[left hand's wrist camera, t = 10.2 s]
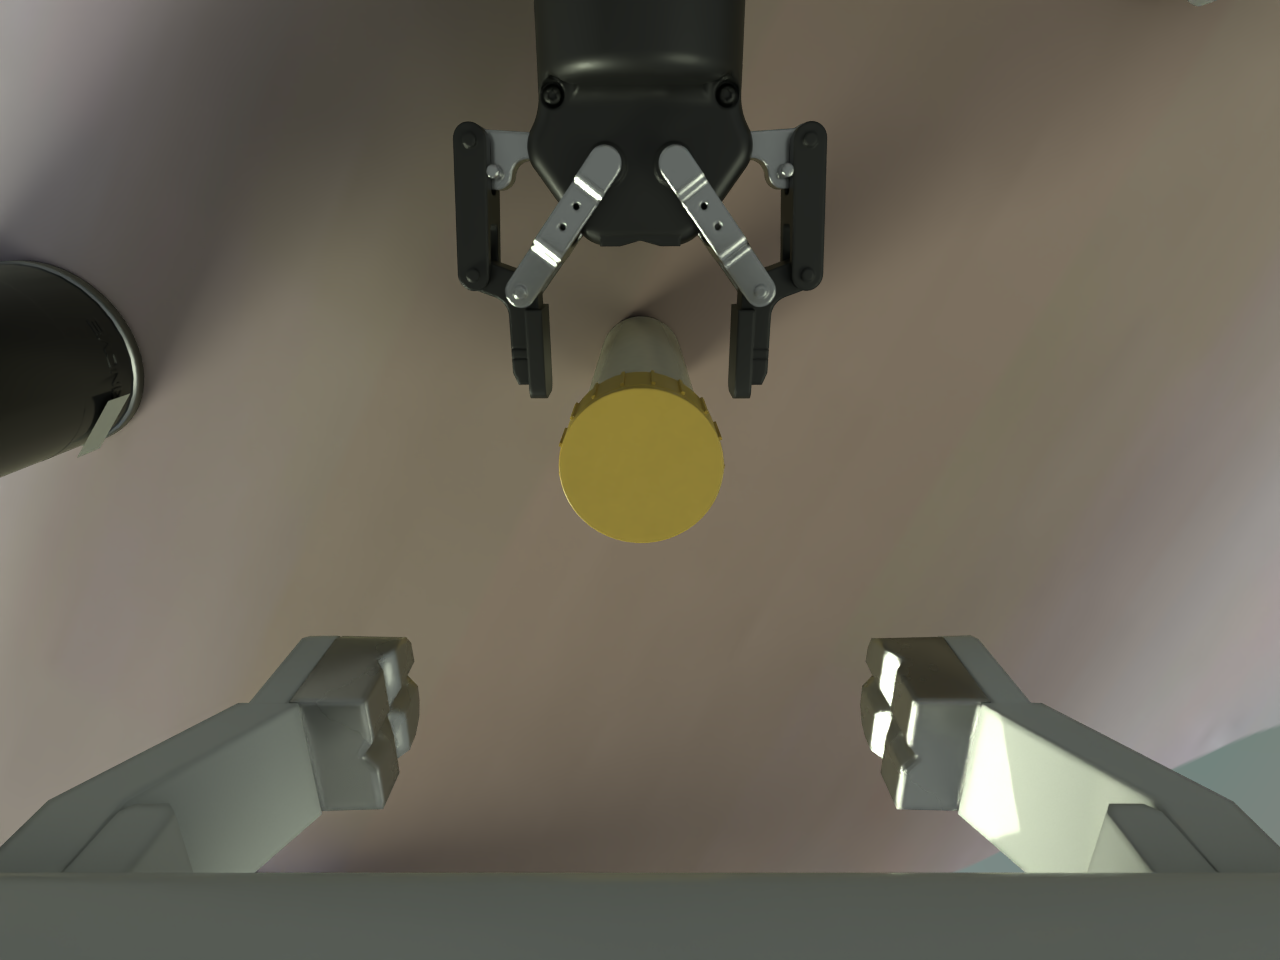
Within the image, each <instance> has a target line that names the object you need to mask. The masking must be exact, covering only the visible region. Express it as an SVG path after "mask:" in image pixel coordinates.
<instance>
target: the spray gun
mask: <svg viewBox="0 0 1280 960" xmlns="http://www.w3.org/2000/svg"><path fill="white" fill-rule="evenodd" d="M1213 1H1216V0H1188V2H1189V3H1191V4H1192V5H1194V6H1202V5H1205V4H1207V3H1210V2H1213Z"/></svg>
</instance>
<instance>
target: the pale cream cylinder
mask: <svg viewBox="0 0 1280 960" xmlns="http://www.w3.org/2000/svg"><path fill="white" fill-rule="evenodd" d="M651 370H654V371H655V373H658V374H662V375H666V376H668V377H671V378H673V379H676V380H677V381H678V380H679V379H680V380H682V382H683V384H684V385H686V386H687V387H688V388H690V389H691V390H692V391H693V388H692V384H691V381H690V378H689V375H688V372H687V368H686V365H685V362H684V359H683V356H682V352H681V349H680V346H679V343H678V340H677V338H676V336H675V335H674V333H673V332H672V331H671V329H670V328H669V327H668V326H666V325H665V324H664V323H662V322H660V321H659V320H656V319H654V318H650V317H644V316H638V317H632V318H629V319H626V320H624V321H622V322H620V323H619V324H617V325H616V326H615V327H614V328H613V329H612V330H611V331H610V332H609V334H608V335H607V337H606V339H605V341H604V344H603V347H602V350H601V354H600V357H599V360H598V363H597V367H596V370H595V373H594V376H593V380H592V383H591V386H590V389H589V391H591V390H592V389H593V388H594V385H595V384H596V383H597V382H598V384H600V383H602V382H603V381H605V380H607V379H609V378H612V377H614V376H617V375H621V372H623V371H625V373H630V372H651ZM693 392H694V391H693Z"/></svg>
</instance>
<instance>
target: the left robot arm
mask: <svg viewBox="0 0 1280 960" xmlns="http://www.w3.org/2000/svg"><path fill="white" fill-rule="evenodd" d="M413 663H414V657H413V651H412V645H411V642H410V641H409V640H408V639H407V638H406V637H367V636H342V637H340V636H309V637H305V638H302V639H301V640H300V642H299V643H298V644H297V645H296V646H295V648H294V649H293V650H292V651H291V653H290V654H289V655H288V656H287V657H286V659H285V660H284V661H283V662H282V663H281V665H280V666H279V667H278V668H277V670H276V671H275V672H274V673H273V674H272V676H271V677H270V678H269V679H268V680H267V682H266V683H265V684H264V685H263V687H262V688H261V689H260V690H259V691H258V693H257V694H256V695H255V696H254V698H253V699H252V700H251V701H250V702H249V703H238V704H236V705H234V706H232V707H230V708H228V709H226V710H224V711H222V712H220V713H218V714H216V715H214V716H212V717H210V718H208V719H206V720H204V721H202V722H200V723H199V724H197V725H195V726H193V727H191V728H189V729H187V730H185V731H183V732H181V733H179V734H177V735H175V736H173V737H171V738H169V739H167V740H165V741H163V742H161V743H160V744H158V745H156V746H154V747H152V748H150V749H148V750H146V751H144V752H142V753H140V754H138V755H136V756H134V757H132V758H130V759H128V760H126V761H124V762H122V763H120V764H119V765H117V766H115V767H113V768H111V769H109V770H107V771H105V772H103V773H101V774H99V775H97V776H95V777H93V778H91V779H89V780H87V781H85V782H83V783H81V784H80V785H78V786H76V787H74V788H72V789H70V790H68V791H66V792H64V793H62V794H60V795H58V796H56V797H54V798H52V799H50V800H48V801H47V802H46V803H45V804H44V805H43V806H42V807H41V808H40V809H39V810H38V811H37V812H36V813H35V814H34V815H33V816H32V817H31V818H30V819H29V820H28V821H27V822H26V823H25V824H24V825H23V826H22V827H20V828H19V829H18V830H17V831H16V832H15V833H14V834H13V835H12V836H11V837H10V838H9V839H8V840H7V841H6V842H5V843H4V844H3V845H2V846H1V847H0V960H1280V847H1279V846H1278V845H1277V844H1276V843H1275V842H1274V841H1273V840H1272V839H1271V838H1270V837H1269V836H1268V835H1267V834H1266V833H1265V832H1264V831H1263V830H1262V829H1261V828H1260V827H1259V826H1258V825H1257V824H1256V823H1255V822H1254V821H1253V820H1252V819H1251V818H1250V817H1249V816H1248V815H1246V814H1245V813H1244V812H1243V811H1242V810H1241V809H1240V808H1239V807H1238V806H1237V805H1236V804H1235V803H1234V802H1233V801H1231V800H1229V799H1227V798H1225V797H1223V796H1221V795H1219V794H1217V793H1216V792H1214V791H1212V790H1210V789H1208V788H1206V787H1204V786H1202V785H1200V784H1198V783H1196V782H1194V781H1192V780H1190V779H1188V778H1186V777H1184V776H1182V775H1181V774H1179V773H1177V772H1175V771H1173V770H1171V769H1169V768H1167V767H1165V766H1163V765H1161V764H1159V763H1157V762H1155V761H1153V760H1151V759H1149V758H1148V757H1146V756H1144V755H1142V754H1140V753H1138V752H1136V751H1134V750H1132V749H1130V748H1128V747H1126V746H1124V745H1122V744H1120V743H1118V742H1116V741H1114V740H1112V739H1111V738H1109V737H1107V736H1105V735H1103V734H1101V733H1099V732H1097V731H1095V730H1093V729H1091V728H1089V727H1087V726H1085V725H1083V724H1081V723H1079V722H1077V721H1076V720H1074V719H1072V718H1070V717H1068V716H1066V715H1064V714H1062V713H1060V712H1058V711H1056V710H1054V709H1052V708H1050V707H1048V706H1046V705H1044V704H1042V703H1031V702H1030V701H1029V700H1028V699H1027V698H1026V696H1025V695H1024V694H1023V693H1022V691H1021V690H1020V689H1019V688H1018V687H1017V685H1016V684H1015V683H1014V682H1013V681H1012V679H1011V678H1010V677H1009V676H1008V675H1007V673H1006V672H1005V671H1004V670H1003V668H1002V667H1001V666H1000V665H999V664H998V662H997V661H996V660H995V659H994V658H993V656H992V655H991V654H990V653H989V652H988V650H987V649H986V648H985V647H984V645H983V644H982V643H981V642H980V641H979V639H977V638H975V637H973V636H971V635H967V636H938V637H912V638H872V639H871V641H870V643H869V646H868V650H867V656H866V663H867V665H868V667H869V669H870V671H871V673H872V676H871V677H870V679H869V680H868V681H867V682H866V683H865V684H864V685H863V686H862V693H861V703H860V708H861V721H862V726H863V730H864V734H865V738H866V740H867V742H868V745H869V747H870V750H872V751H873V752H874V753H876V754H877V755H879V756H880V757H881V758H883V760H882V766H881V775H882V777H883V779H884V781H885V784H886V786H887V788H888V790H889V793H890V795H891V797H892V799H893V802H894V804H895V806H896V808H897V809H912V810H948V811H958V814H959V815H960V816H961V817H962V818H964V819H965V820H966V821H967V822H968V823H969V824H970V825H972V826H973V827H974V828H975V829H976V830H977V831H978V832H980V833H981V834H982V835H983V836H984V837H985V838H986V839H988V840H989V841H990V842H991V843H992V844H993V845H994V846H996V847H997V848H998V849H999V850H1000V851H1001V852H1003V853H1004V854H1005V855H1006V856H1007V857H1008V858H1009V859H1010V860H1012V861H1013V862H1014V863H1015V864H1016V865H1017V866H1019V867H1020V868H1021V869H1022V870H1023V871H1024V872H1025V873H255V872H256V871H257V870H258V869H259V868H261V867H262V866H263V865H264V864H265V863H266V862H267V861H269V860H270V859H271V858H272V857H273V856H274V855H276V854H277V853H278V852H279V851H280V850H281V849H282V848H284V847H285V846H286V845H287V844H288V843H289V842H290V841H292V840H293V839H294V838H295V837H296V836H297V835H298V834H300V833H301V832H302V831H303V830H304V829H305V828H306V827H308V826H309V825H310V824H311V823H312V822H313V821H315V820H316V819H317V818H318V817H319V816H320V815H321V814H322V812H321V811H332V810H366V809H383V808H384V806H385V804H386V802H387V799H388V797H389V795H390V793H391V790H392V788H393V786H394V784H395V781H396V779H397V777H398V775H399V766H398V759H397V758H399V757H400V756H401V755H403V754H404V753H406V752H407V751H408V750H410V747H411V745H412V742H413V740H414V737H415V735H416V730H417V725H418V720H419V701H420V700H419V692H418V686H417V685H416V684H415V683H414V682H413V681H412V680H411V679H410V677H409V676H408V673H409V671H410V669H411V667H412V665H413Z"/></svg>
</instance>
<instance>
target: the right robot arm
mask: <svg viewBox="0 0 1280 960" xmlns="http://www.w3.org/2000/svg"><path fill="white" fill-rule="evenodd" d="M534 12H535V32H536V52H537V72H538V92H539V103H538V111H537V115H536V119H535V122H534V124H533V126H532V128H531V130H530V132H515V131H499V130H486V129H484V128H482V127H481V126H479V125H477V124H476V123H473V122H463V123H461V124H460V125H458V126H457V128H456V129H455V131H454V135H453V148H454V176H455V204H456V232H457V260H458V278H459V281H460V283H461V284H462V285H463V286H464V287H465V288H466V289H468V290H471V291H480V292H482V293H485V294H488V295H491V296H493V297H496V298H498V299H500V300H501V301H502V302H503V303H504V304H505V306H506V307H507V309H508V312H509V320H510V334H511V348H512V363H513V373H514V375H515V378H516V380H517V382H518V384H519V385H526V384H529V391H530V397H531V398H548V397H549V395H550V393H551V391H552V364H551V344H550V323H549V304H543V292H544V291H545V290H546V288H547V287H548V285H549V284H550V282H551V281H552V279H553V278H554V276H555V275H556V273H557V272H558V270H559V269H560V268H561V266H562V265H563V263H564V262H565V261H566V259H567V258H568V257H569V255H570V254H571V253H572V251H573V250H574V248H575V247H576V245H577V244H578V242H579V241H580V239H581V238H582V236H584V237H586V238H587V239H588V240H590V241H592V242H594V243H596V244H599V245H600V246H623V245H626V244H630V243H633V242H636V241H644V242H648V243H651V244H655V245H659V246H680V244H684V243H686V242H688V241H690V240H692V239H693V238H694V237H696V236H697V235H698V236H699V238H700V239H701V241H702V242H703V244H704V245H705V246H706V248H707V249H708V251H709V252H710V254H711V255H712V256H713V258H714V259H715V260H716V261H717V263H718V264H719V266H720V267H721V268H722V270H723V271H724V273H725V274H726V276H727V277H728V279H729V280H730V281H731V283H732V284H733V286H734V287H735V289H736V290H737V292H738V293H737V304H732V305H731V328H730V351H729V375H728V387H729V392H730V394H731V396H732V398H750V395H751V385H762V383H763V381H764V379H765V376H766V374H767V368H768V353H769V337H770V321H771V312H772V309H773V307H774V305H775V304H776V303H777V302H778V301H779V300H780V299H782V298H784V297H786V296H789V295H792V294H794V293H797V292H800V291H802V290H804V291H808V290H812V289H814V288H816V287H817V286H818V285H819V284H820V282H821V280H822V277H823V259H824V224H825V190H826V156H827V133H826V130H825V128H824V127H823V126H822V125H821V124H820V123H818V122H815V121H809V122H806V123H803V124H801V125H799V126H797V127H796V128H792V129H778V130H764V131H750V129H749V127H748V125H747V123H746V121H745V118H744V115H743V110H742V105H741V86H742V63H743V39H744V16H745V0H534ZM750 160H753V161H756V162H757V163H759V164H760V165H761V167H762V168H763V171H764V175H765V180H766V182H767V184H768V185H769V186H770V187H771V188H773V189H777V190H781V255H780V262H778V263H776V264H773V265H770V266H768V267H765V268H764V267H763V265H762V264H761V262H760V261H759V259H758V258H757V256H756V255H755V253H754V252H753V250H752V249H751V247H750V246H749V243H748V241H747V239H746V238H745V236H744V235H743V233H742V232H741V230H740V229H739V227H738V226H737V224H736V223H735V221H734V220H733V218H732V217H731V215H730V214H729V212H728V211H727V209H726V208H725V206H724V205H723V203H722V201H723V199H724V198H725V197H726V195H727V194H728V192H729V191H730V190H731V188H732V187H733V185H734V184H735V182H736V181H737V180H738V178H739V177H740V175H741V174H742V173H743V171H744V170H745V168H746V167H747V165H748V163H749V161H750ZM527 161H530V162H531V164H532V166H533V167H534V169H535V170H536V172H537V173H538V174H539V176H540V177H541V179H542V180H543V181H544V183H545V184H546V186H547V187H548V188H549V190H550V191H551V193H552V194H553V195H554V197H555V198H556V200H557V201H558V202H559V203H558V204H557V206H556V207H555V209H554V210H553V212H552V214H551V215H550V217H549V218H548V220H547V221H546V223H545V224H544V226H543V227H542V229H541V230H540V232H539V233H538V235H537V236H536V238H535V240H534V241H533V243H532V246H531V248H530V249H529V251H528V253H527V254H526V256H525V257H524V259H523V260H522V262H521V263H520V265H519V266H518V268H515V267H512V266H509V265H506V264H504V263H501V258H500V191H504V190H507V189H509V188H511V187H512V186H513V184H514V182H515V179H516V173H517V170H518V168H519V167H520V165H522V164H523V163H524V162H527ZM143 386H144V371H143V363H142V359H141V355H140V352H139V348H138V346H137V343H136V341H135V338H134V336H133V334H132V332H131V330H130V329H129V327H128V325H127V324H126V322H125V320H124V319H123V318H122V316H121V315H120V314H119V312H118V311H117V310H116V309H115V308H114V306H113V305H112V304H111V303H110V302H109V301H108V300H107V299H106V298H105V297H104V296H103V295H102V294H101V293H99V292H98V291H97V290H96V289H95V288H93V287H92V286H91V285H89V284H88V283H87V282H85V281H83V280H82V279H80V278H79V277H77V276H75V275H73V274H71V273H69V272H67V271H65V270H63V269H60V268H58V267H55V266H52V265H49V264H45V263H40V262H34V261H24V260H16V261H0V477H3V476H5V475H8V474H10V473H13V472H15V471H18V470H21V469H23V468H26V467H28V466H31V465H33V464H36V463H38V462H41V461H44V460H46V459H49V458H51V457H54V456H56V455H59V454H61V453H64V452H66V451H69V450H71V449H74V448H76V447H79V446H83V445H84V446H83V448H82V450H81V452H80V453H79V455H78V457H80V456H83V455H85V454H87V453H90V452H92V451H94V450H97V449H99V448H100V447H101V445H102V443H103V441H104V440H105V438H107V437H109V436H111V435H113V434H115V433H116V432H118V431H119V430H121V429H122V428H123V427H124V426H125V425H126V424H127V423H128V422H129V421H130V420H131V419H132V417H133V416H134V414H135V412H136V410H137V408H138V406H139V404H140V401H141V398H142V393H143ZM78 457H77V458H78Z"/></svg>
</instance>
